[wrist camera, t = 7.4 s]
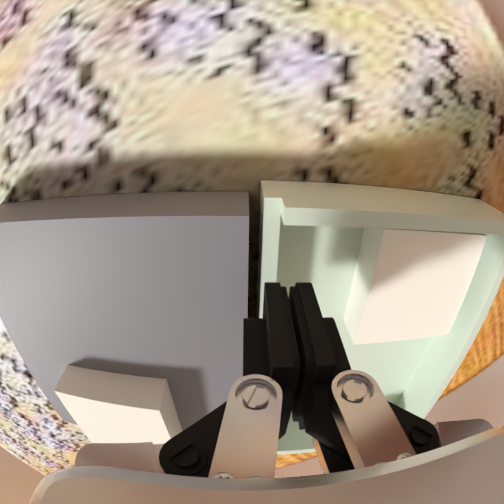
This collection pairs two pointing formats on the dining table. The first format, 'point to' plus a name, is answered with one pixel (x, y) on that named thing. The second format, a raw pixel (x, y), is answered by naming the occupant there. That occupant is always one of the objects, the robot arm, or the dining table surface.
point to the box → (343, 268)
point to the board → (130, 290)
